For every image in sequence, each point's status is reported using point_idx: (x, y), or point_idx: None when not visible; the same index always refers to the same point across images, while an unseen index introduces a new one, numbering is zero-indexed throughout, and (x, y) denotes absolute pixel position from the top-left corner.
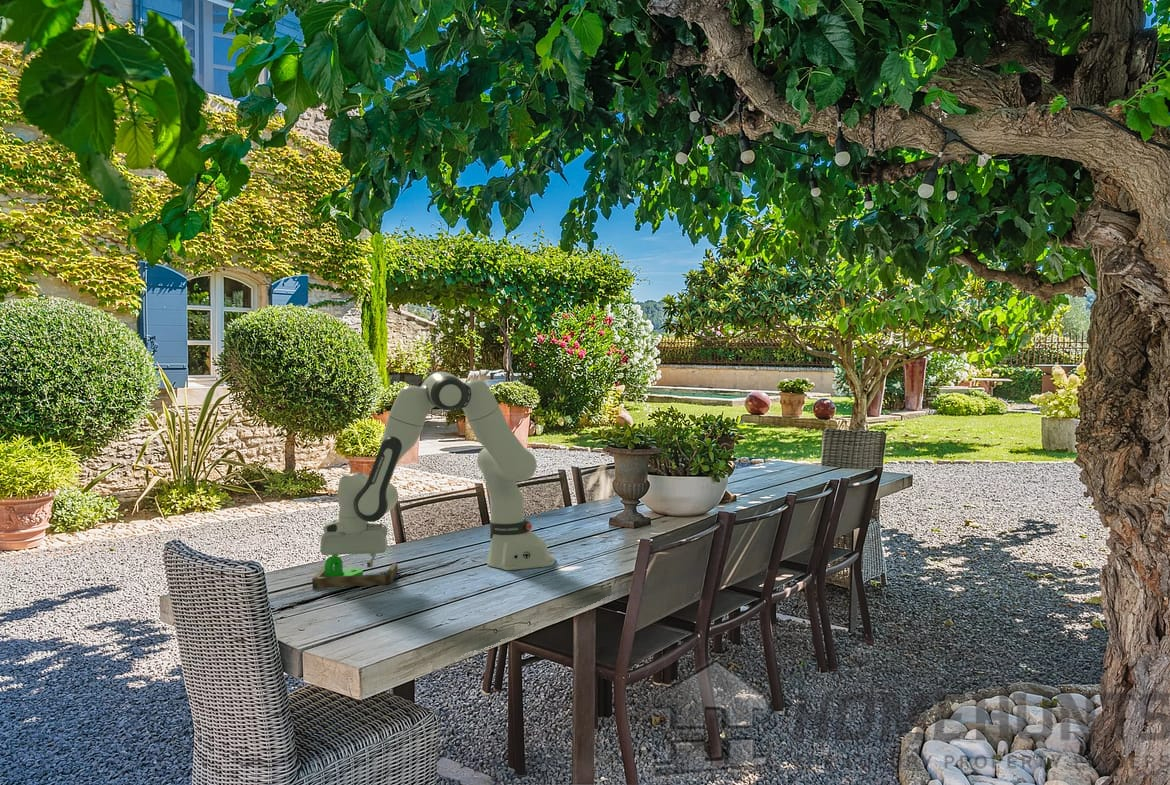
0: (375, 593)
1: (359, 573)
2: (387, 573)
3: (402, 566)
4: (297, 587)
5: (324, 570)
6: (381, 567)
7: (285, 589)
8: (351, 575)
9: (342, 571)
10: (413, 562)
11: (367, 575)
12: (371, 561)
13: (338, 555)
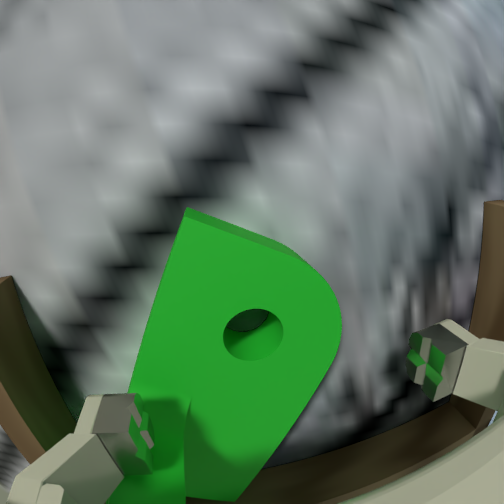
0: None
1: (320, 370)
2: (483, 418)
3: (491, 63)
4: (24, 468)
5: (31, 434)
6: (390, 37)
7: (4, 475)
8: (278, 441)
9: (182, 434)
10: (499, 7)
11: (399, 476)
12: (467, 389)
13: (66, 501)
